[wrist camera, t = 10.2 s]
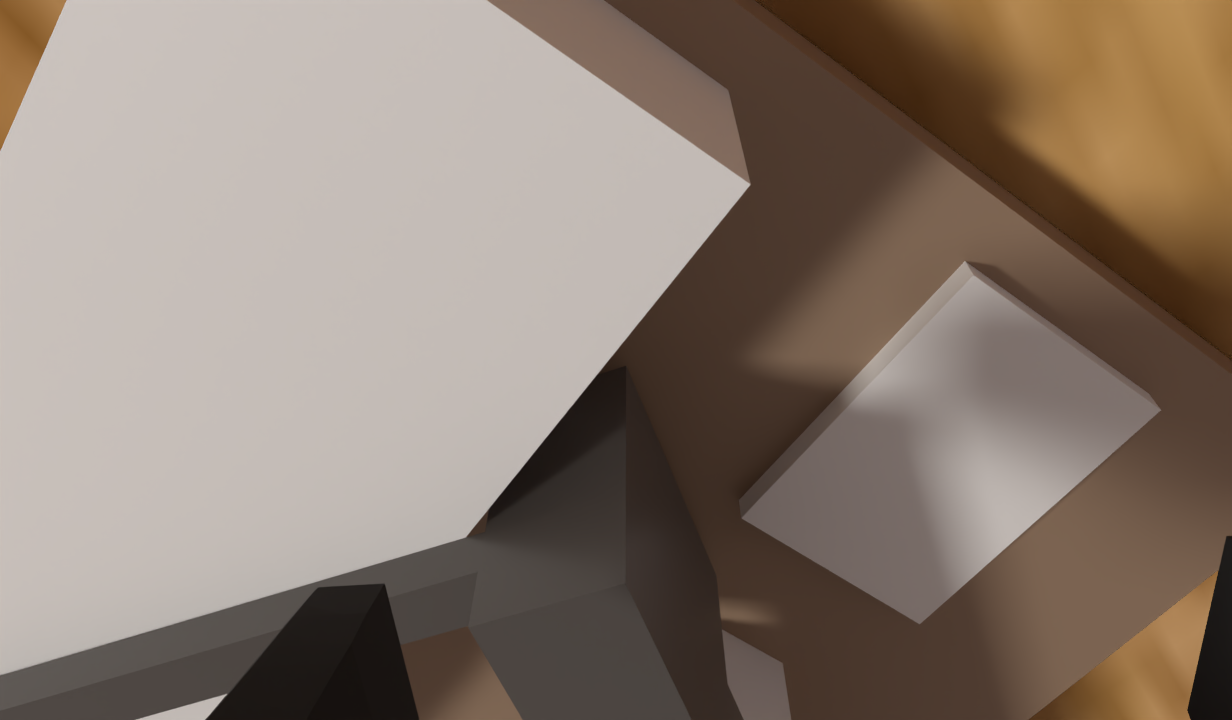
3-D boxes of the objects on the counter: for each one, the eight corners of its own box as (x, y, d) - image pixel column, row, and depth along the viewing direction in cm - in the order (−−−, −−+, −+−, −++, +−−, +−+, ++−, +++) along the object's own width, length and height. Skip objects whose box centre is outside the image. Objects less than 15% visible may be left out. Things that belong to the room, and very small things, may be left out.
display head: (1304, 415, 20) (1501, 619, 15) (645, 961, 28) (646, 1198, 24) (326, -323, 15) (184, -346, 10) (-129, 616, 23) (-319, 836, 18)
